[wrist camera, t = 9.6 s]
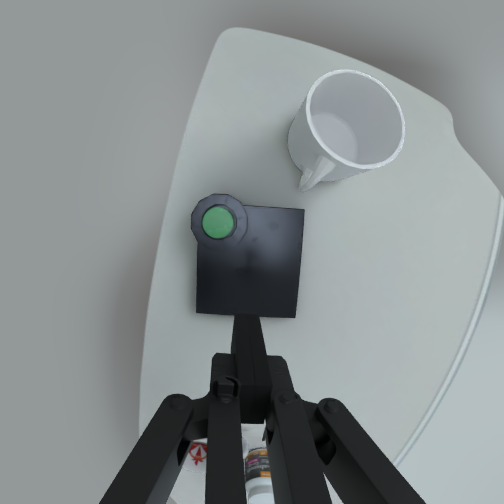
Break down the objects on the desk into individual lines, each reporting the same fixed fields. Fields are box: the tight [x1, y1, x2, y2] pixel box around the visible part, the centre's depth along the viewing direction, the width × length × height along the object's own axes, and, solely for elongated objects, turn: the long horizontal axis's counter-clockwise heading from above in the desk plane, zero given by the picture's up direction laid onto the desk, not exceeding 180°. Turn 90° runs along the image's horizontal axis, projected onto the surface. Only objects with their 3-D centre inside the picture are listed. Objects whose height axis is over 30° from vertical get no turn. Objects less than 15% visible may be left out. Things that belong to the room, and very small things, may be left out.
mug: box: [287, 69, 405, 192], centre depth 27 cm, size 10×12×12 cm
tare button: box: [202, 207, 234, 238], centre depth 30 cm, size 3×3×2 cm
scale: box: [191, 194, 305, 318], centre depth 33 cm, size 13×14×3 cm
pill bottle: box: [245, 448, 275, 504], centre depth 34 cm, size 6×6×10 cm
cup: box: [182, 438, 249, 473], centre depth 33 cm, size 11×8×8 cm
